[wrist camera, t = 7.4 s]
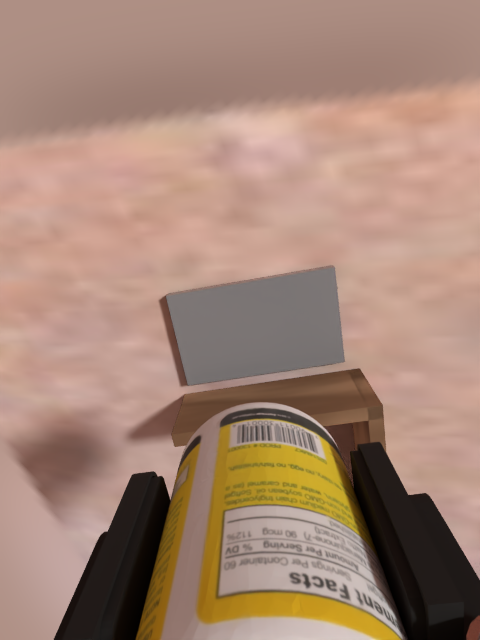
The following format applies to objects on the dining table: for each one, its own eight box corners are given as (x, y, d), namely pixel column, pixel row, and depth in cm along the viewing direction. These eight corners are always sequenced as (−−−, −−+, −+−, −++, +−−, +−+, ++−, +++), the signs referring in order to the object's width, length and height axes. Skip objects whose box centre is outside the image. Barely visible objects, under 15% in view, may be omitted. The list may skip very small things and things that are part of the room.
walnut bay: (376, 552, 29) (398, 613, 25) (228, 568, 30) (225, 630, 26) (359, 368, 24) (382, 405, 20) (184, 394, 25) (171, 434, 21)
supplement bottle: (239, 550, 12) (220, 1197, 4) (149, 448, 11) (-101, 1076, 3) (371, 485, 11) (651, 1162, 3) (288, 366, 10) (416, 967, 2)
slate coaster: (342, 358, 24) (344, 362, 24) (189, 381, 25) (187, 385, 24) (332, 265, 22) (334, 267, 22) (167, 293, 23) (165, 296, 23)
